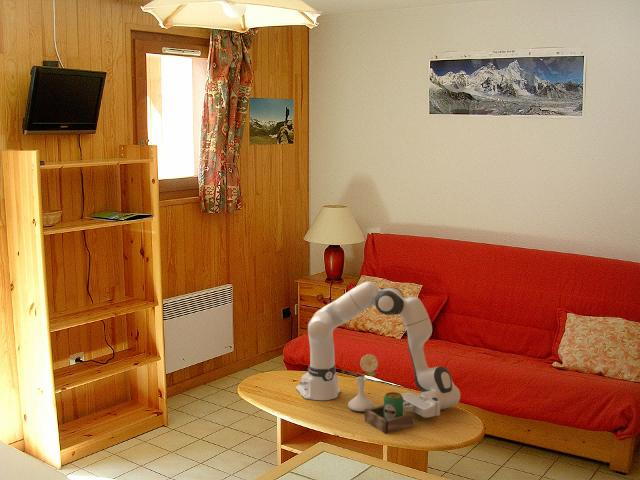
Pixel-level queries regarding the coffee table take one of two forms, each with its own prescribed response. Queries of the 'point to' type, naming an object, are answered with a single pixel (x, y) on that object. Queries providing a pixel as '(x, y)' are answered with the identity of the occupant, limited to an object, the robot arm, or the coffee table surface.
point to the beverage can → (393, 405)
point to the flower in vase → (361, 400)
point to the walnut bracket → (386, 426)
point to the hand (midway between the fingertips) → (401, 408)
